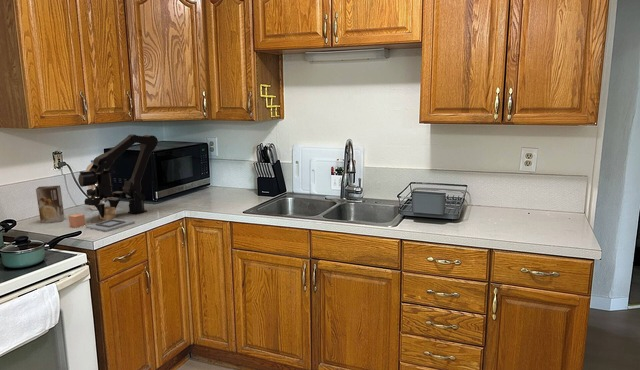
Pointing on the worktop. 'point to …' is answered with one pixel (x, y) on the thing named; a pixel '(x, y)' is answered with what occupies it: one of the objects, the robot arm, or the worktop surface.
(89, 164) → the water bottle
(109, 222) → the grey flat square plate
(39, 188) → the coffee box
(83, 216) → the terracotta block
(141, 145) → the robot arm
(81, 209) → the worktop surface
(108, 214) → the oak cube
